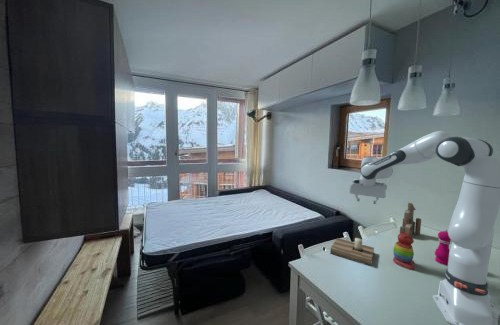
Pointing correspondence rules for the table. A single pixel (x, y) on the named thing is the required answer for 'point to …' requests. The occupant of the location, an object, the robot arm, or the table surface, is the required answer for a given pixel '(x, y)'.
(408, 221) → the wooden toy
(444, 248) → the pepper mill
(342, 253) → the board
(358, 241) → the peg
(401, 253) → the stacking bear
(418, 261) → the table surface
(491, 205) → the robot arm
